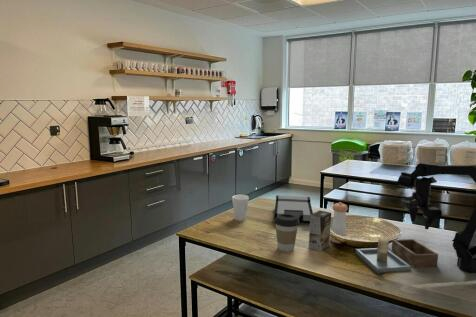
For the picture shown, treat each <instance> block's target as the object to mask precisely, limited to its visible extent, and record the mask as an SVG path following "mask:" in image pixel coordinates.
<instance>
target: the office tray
mask: <svg viewBox="0 0 476 317" xmlns="http://www.w3.org/2000/svg"><path fill="white" fill-rule="evenodd" d="M274 204H275V206H274V213H273V214H274V217H273V218H274V220H275V218H277V216H278V215H280V214H292V215H295V216H296V217H297V219H298V220H299V224H307V225H310V214H313V213H314V212H313V208H312V204H311V197H310V196H297V195H277V194H276V196H275V203H274Z"/></svg>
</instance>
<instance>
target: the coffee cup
mask: <svg viewBox="0 0 476 317" xmlns="http://www.w3.org/2000/svg"><path fill="white" fill-rule="evenodd" d="M273 222H274V224H275V233H276V242H277V248H278V250H279V251H281V252H285V253H287V252H292V251H294V248H295V246H296V239H297V234H298V226H299V225H300V222H299V219H297V217H296V216H295V215H292V214H280V215H278V216H277V218H275V219H274V221H273Z"/></svg>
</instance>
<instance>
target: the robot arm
mask: <svg viewBox="0 0 476 317" xmlns="http://www.w3.org/2000/svg"><path fill="white" fill-rule="evenodd" d="M436 175H450V176H451V175H453V176H454V175H456V176H457V175H458V176H460V175H461V176H469V177H470V178H471V179H472V181H474V183H475V184H476V164H439V163H435V162H430V161H429V162H422V163H418V164H417V165H415V169H414V170H413V171H412V172H407V171H406V172H405V171H402V172H401V173H400V175H399V177H398V178H397V185H398V186H399V187H401V188H405V189H411V190H413V189H414V188H415V191H412V195H411V196H407V197H404V198H403V199H401V203H402V207H403V208H406V209H407V210H408V214H409V217H410V218H409V219H410V221H411V223H414V222H415V221H416V218H417V215H418V212H419V209H420V210H422V216H423V218H424V230H428V229H429V228H430V227H431V226H432V225H433V223H434V222H435V220H436V219H437V218H440V217H442V216H443V210H442V209H441V208H438V207H436V206H432V203H430V198H433V194H432V193H431V189H432V188H431V187H432V184H435V183H437V180H436V178H434V176H436ZM429 176H430V177H429ZM451 242H452V247H453V249H454V251H455V253H456V256H457V262H456V266H457V268H458V269H459V270H461V271H462V272H464V273H469V274H476V205H475V206H474V208H473V210H472V213H471V215H470V217H469V219H468V221H467V223H466V225H465V228H464V229H461V230H459V231H456V232H455V235H454V237H453V239H452V240H451Z"/></svg>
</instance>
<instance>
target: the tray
mask: <svg viewBox="0 0 476 317" xmlns="http://www.w3.org/2000/svg"><path fill="white" fill-rule="evenodd" d="M377 250H378V247H374V248H373V247H372V248H371V247H369V248H368V247H367V248H355V255H356V256H357V257H358V258H359V259H360V260H361V261H363V263H364V264H366V265H367V267H369V268H370V269H371V270H372V271H373V272H374V273H376V274H377V275H385V273H386V272H387V273H388V272H389V273H390V272H401V271H403V272H405V271H411V270H412V265H411V264H409V263H408V262H406V261H405V260H404V259H402V258H401V257H400V256H398V255H397V254H396V253H394V252H393V251H392V250H391V249H390V250H389V249H388V256H387V262H386V263H381V262H378V261H377Z"/></svg>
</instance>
